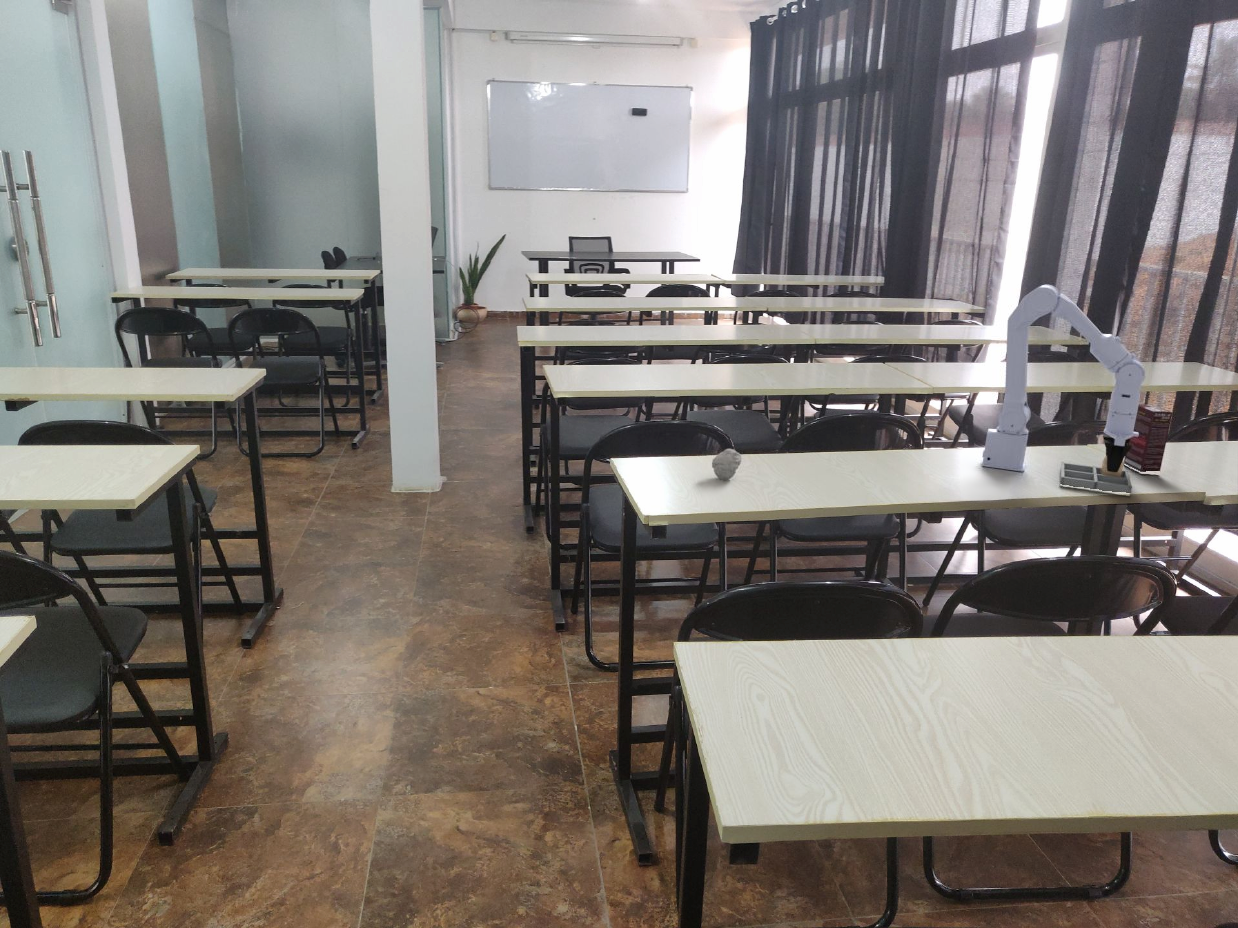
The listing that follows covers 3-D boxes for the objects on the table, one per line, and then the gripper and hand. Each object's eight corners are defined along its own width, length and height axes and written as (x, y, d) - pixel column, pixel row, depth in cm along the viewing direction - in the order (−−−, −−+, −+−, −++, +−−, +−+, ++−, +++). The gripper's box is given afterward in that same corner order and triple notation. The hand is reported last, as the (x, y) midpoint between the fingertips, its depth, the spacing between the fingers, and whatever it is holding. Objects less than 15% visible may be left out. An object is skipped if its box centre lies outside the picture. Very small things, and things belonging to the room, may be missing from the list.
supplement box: (1160, 476, 215) (1174, 412, 211) (1140, 475, 216) (1153, 411, 211) (1141, 466, 224) (1153, 404, 219) (1121, 465, 224) (1134, 403, 219)
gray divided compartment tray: (1059, 486, 204) (1061, 477, 204) (1060, 471, 217) (1061, 462, 216) (1129, 496, 199) (1131, 486, 198) (1126, 480, 211) (1127, 471, 210)
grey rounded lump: (745, 481, 201) (747, 451, 199) (719, 484, 198) (721, 454, 196) (731, 473, 206) (733, 444, 204) (705, 476, 203) (706, 447, 201)
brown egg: (1100, 475, 208) (1104, 455, 206) (1099, 471, 212) (1103, 450, 210) (1121, 478, 206) (1126, 457, 205) (1120, 473, 210) (1124, 453, 208)
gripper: (1145, 420, 197) (1133, 479, 200) (1140, 408, 209) (1129, 463, 213) (1109, 416, 199) (1098, 474, 203) (1106, 404, 212) (1096, 459, 216)
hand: (1111, 468), depth 208 cm, fingers closed on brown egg, 4 cm apart
